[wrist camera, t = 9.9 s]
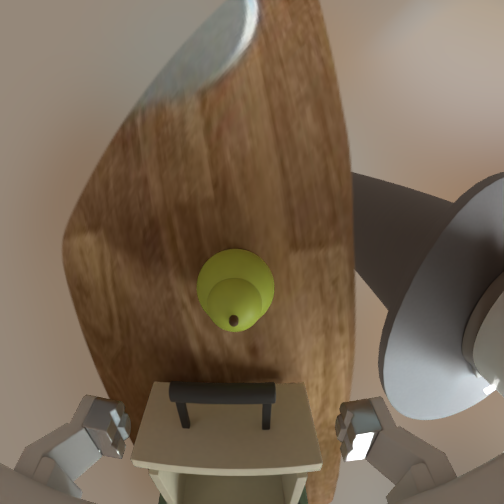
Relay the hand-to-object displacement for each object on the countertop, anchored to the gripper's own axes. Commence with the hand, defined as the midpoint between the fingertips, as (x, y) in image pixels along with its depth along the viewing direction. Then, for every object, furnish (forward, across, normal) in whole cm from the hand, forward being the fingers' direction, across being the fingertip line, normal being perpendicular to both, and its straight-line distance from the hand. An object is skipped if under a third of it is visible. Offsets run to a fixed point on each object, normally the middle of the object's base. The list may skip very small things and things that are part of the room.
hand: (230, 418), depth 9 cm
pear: (+13, 0, 0) cm, 13 cm away
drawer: (+12, +1, +15) cm, 19 cm away
